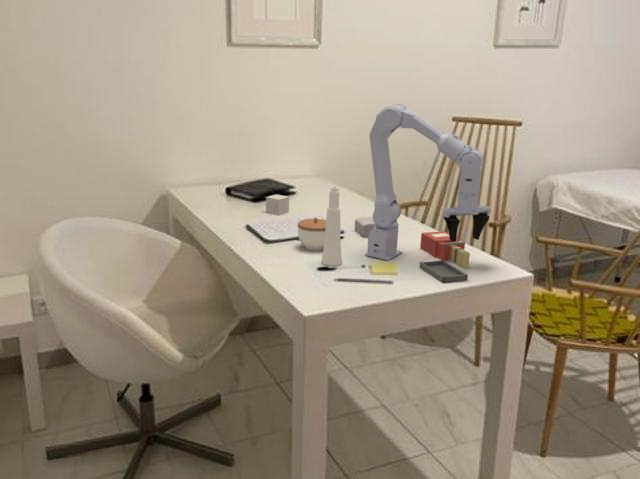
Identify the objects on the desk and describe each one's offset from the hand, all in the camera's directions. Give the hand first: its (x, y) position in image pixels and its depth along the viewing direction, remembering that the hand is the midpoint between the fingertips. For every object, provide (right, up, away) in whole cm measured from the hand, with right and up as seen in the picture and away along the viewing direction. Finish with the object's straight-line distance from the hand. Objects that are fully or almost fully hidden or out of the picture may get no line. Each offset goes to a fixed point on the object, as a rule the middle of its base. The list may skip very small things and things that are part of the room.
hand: (464, 239), depth 187 cm
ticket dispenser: (-4, -4, +12) cm, 13 cm away
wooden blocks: (-1, -6, +5) cm, 8 cm away
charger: (-25, +3, +34) cm, 42 cm away
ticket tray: (-7, -9, -6) cm, 13 cm away
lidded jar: (-43, -3, +14) cm, 45 cm away
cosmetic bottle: (-38, -7, +1) cm, 39 cm away
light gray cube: (-57, +10, +54) cm, 79 cm away
